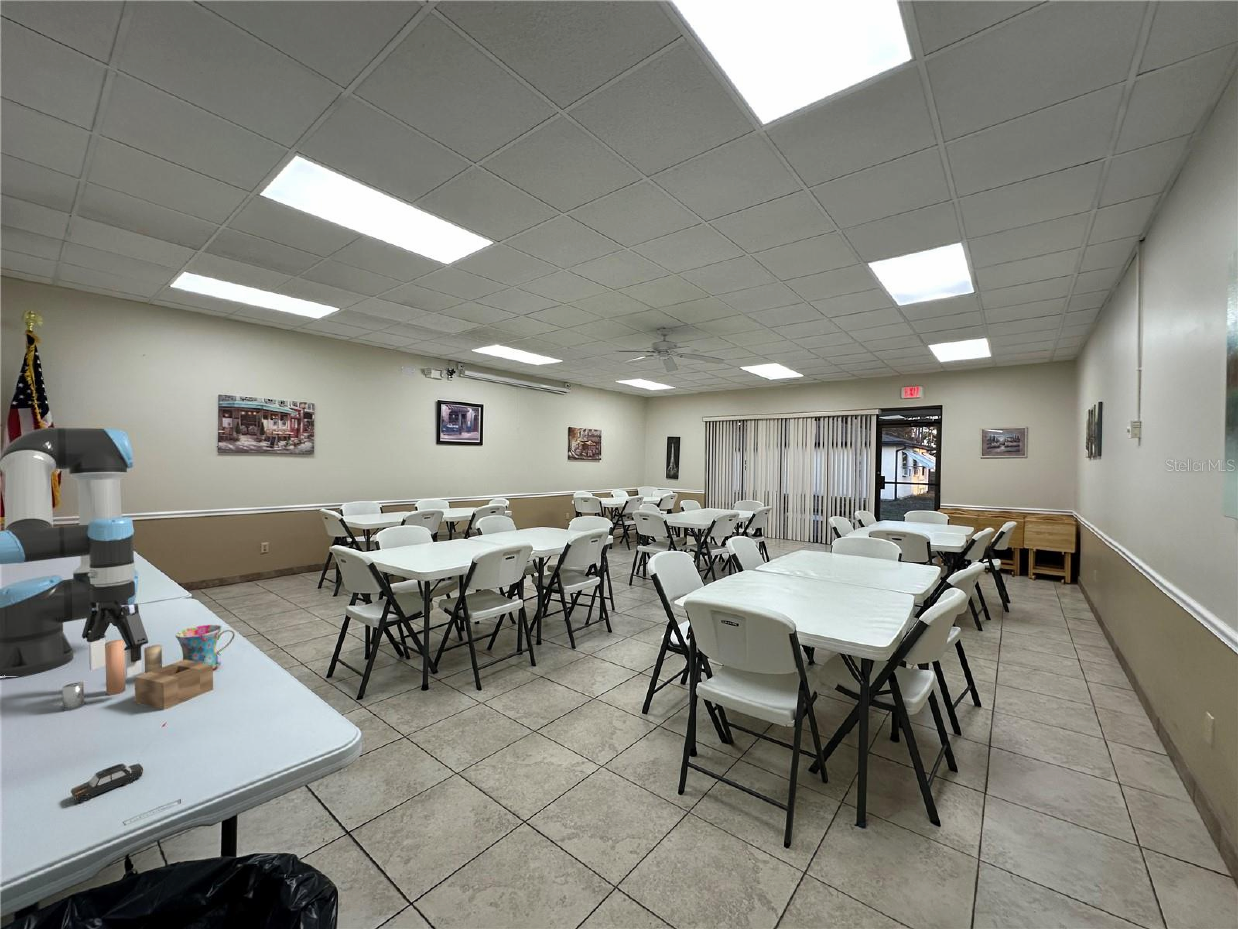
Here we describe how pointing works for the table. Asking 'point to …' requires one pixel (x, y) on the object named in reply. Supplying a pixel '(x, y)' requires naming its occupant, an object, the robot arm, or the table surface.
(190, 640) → the mug
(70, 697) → the short pin
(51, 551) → the robot arm
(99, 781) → the toy car
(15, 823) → the table surface
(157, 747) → the table surface
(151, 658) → the medium pin
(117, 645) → the long pin
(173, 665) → the block
